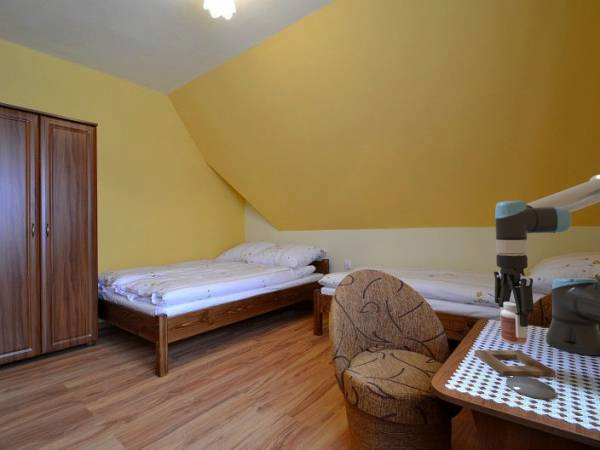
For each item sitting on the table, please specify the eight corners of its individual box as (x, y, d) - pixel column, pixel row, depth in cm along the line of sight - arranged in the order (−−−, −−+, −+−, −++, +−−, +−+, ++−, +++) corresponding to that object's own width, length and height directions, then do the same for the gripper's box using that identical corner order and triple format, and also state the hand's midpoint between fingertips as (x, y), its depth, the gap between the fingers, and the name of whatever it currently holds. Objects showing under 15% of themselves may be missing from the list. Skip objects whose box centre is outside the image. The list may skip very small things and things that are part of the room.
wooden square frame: (519, 355, 98) (519, 350, 98) (555, 376, 84) (555, 371, 84) (474, 354, 98) (474, 350, 98) (502, 376, 84) (502, 371, 84)
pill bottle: (521, 347, 87) (520, 307, 87) (497, 340, 92) (496, 303, 92) (530, 342, 90) (529, 303, 90) (507, 335, 96) (506, 299, 96)
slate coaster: (535, 378, 83) (535, 376, 83) (566, 399, 73) (566, 397, 73) (497, 378, 83) (497, 376, 83) (523, 399, 73) (523, 396, 73)
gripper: (550, 257, 82) (552, 345, 82) (503, 250, 101) (505, 322, 101) (521, 257, 82) (523, 345, 82) (480, 251, 101) (482, 322, 101)
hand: (513, 332), depth 91 cm, fingers closed on pill bottle, 6 cm apart
